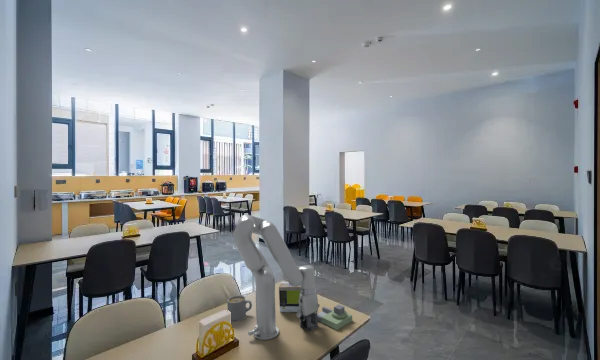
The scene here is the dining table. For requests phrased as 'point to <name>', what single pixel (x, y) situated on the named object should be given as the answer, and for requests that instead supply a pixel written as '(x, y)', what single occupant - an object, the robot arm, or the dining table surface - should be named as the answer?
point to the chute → (311, 322)
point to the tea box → (289, 297)
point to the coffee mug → (238, 307)
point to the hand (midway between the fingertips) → (308, 324)
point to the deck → (335, 321)
